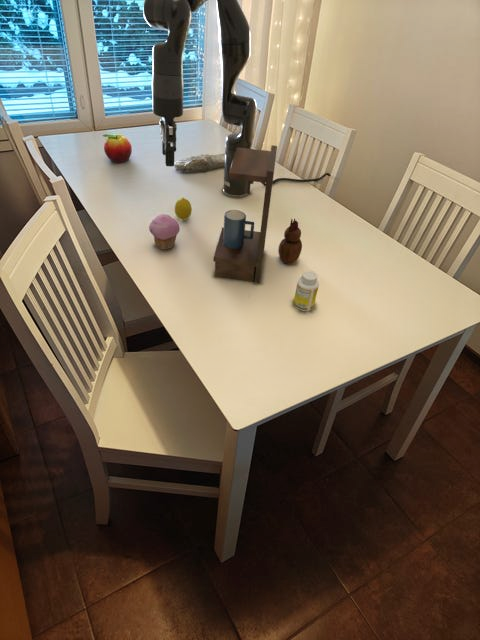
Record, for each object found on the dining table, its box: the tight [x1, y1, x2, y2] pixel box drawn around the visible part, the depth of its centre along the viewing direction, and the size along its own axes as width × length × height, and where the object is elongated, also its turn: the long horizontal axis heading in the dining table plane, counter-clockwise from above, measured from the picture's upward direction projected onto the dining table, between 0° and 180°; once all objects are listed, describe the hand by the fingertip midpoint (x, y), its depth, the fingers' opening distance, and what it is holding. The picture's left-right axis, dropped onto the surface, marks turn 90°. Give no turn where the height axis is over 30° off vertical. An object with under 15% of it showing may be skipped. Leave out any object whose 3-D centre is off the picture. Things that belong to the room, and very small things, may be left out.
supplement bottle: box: [293, 270, 320, 312], centre depth 115 cm, size 6×6×10 cm
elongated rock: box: [173, 153, 225, 173], centre depth 180 cm, size 35×5×10 cm
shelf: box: [212, 145, 278, 284], centre depth 120 cm, size 14×16×33 cm
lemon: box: [174, 197, 193, 221], centre depth 145 cm, size 6×6×8 cm
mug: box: [223, 209, 255, 249], centre depth 123 cm, size 8×6×9 cm
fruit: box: [102, 133, 133, 163], centre depth 175 cm, size 11×11×10 cm
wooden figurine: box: [277, 217, 303, 265], centre depth 129 cm, size 7×6×15 cm
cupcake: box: [148, 213, 181, 250], centre depth 132 cm, size 9×9×10 cm
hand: (168, 160), depth 117 cm, fingers open, 8 cm apart
